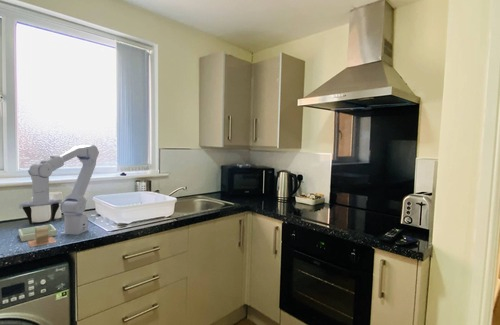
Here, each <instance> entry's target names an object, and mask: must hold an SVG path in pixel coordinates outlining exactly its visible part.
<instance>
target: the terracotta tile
mask: <svg viewBox="0 0 500 325" xmlns="http://www.w3.org/2000/svg"><path fill="white" fill-rule="evenodd" d="M48 238H49V241H48V242H43V243H38V244H37V243H36V240H35V239H34V240H29V241H27V244H28V245H29V247H30V248H33V247H39V246H43V245H49V244H55V243H57V240H56V239H55V238H54V236H51V237H48Z"/></svg>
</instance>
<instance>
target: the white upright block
mask: <svg viewBox="0 0 500 325" xmlns="http://www.w3.org/2000/svg"><path fill="white" fill-rule="evenodd" d="M49 197H50V200H54V199H61V200H62V201H64V199H63V197H64V196H63V192H62V191H49ZM60 205H61V204H59V208H58V210H57V212H56V214H55V217H54V220H59V219H61V218H62V213H63V212H62V211H61V210H60ZM50 219H51V205H50Z"/></svg>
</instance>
